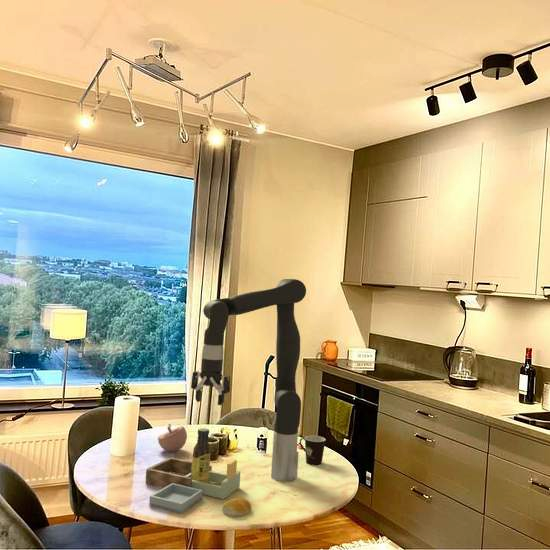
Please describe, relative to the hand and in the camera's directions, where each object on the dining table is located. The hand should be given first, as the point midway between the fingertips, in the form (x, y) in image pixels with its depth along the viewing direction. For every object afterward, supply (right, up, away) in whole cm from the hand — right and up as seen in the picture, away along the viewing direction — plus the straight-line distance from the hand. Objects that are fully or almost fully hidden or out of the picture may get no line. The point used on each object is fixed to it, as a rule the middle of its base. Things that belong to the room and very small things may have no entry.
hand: (209, 403), depth 184 cm
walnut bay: (-11, -29, +4) cm, 32 cm away
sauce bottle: (-4, -30, +1) cm, 30 cm away
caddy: (+1, -29, -1) cm, 29 cm away
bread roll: (+11, -30, -18) cm, 37 cm away
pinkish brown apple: (-20, -30, +37) cm, 51 cm away
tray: (-9, -29, -14) cm, 33 cm away
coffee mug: (+39, -33, +34) cm, 61 cm away
